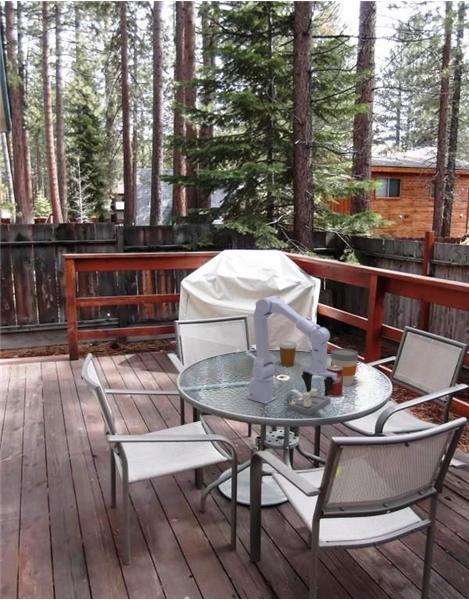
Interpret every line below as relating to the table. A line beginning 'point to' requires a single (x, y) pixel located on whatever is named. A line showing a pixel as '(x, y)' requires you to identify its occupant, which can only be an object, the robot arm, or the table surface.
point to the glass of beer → (287, 353)
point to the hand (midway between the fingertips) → (317, 393)
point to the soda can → (336, 381)
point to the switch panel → (316, 404)
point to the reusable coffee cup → (345, 363)
